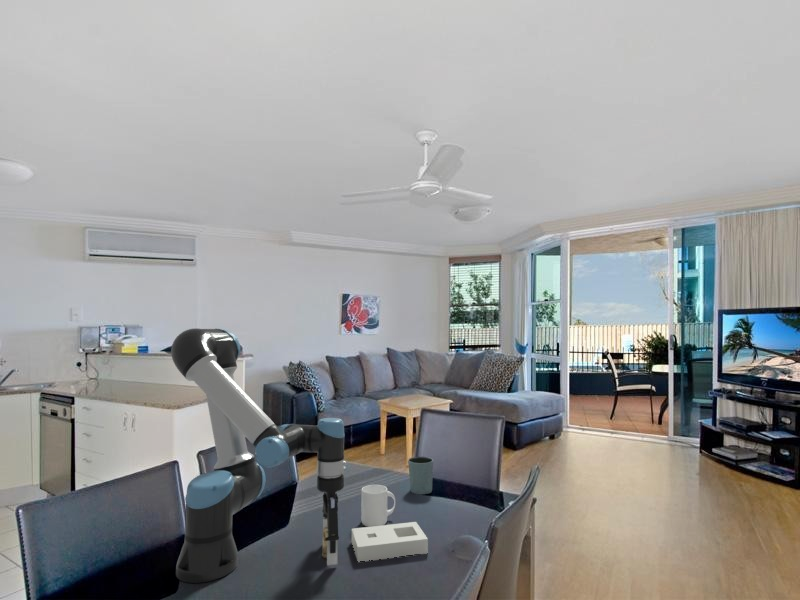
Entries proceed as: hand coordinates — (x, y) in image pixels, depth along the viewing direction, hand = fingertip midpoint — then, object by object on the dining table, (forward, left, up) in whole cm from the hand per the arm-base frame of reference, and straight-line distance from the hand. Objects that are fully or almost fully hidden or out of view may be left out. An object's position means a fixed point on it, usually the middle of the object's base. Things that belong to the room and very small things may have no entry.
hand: (329, 552), depth 125 cm
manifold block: (+17, 0, -1) cm, 17 cm away
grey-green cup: (+40, +44, -1) cm, 59 cm away
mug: (+18, +19, -1) cm, 26 cm away
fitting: (0, 0, -1) cm, 1 cm away
